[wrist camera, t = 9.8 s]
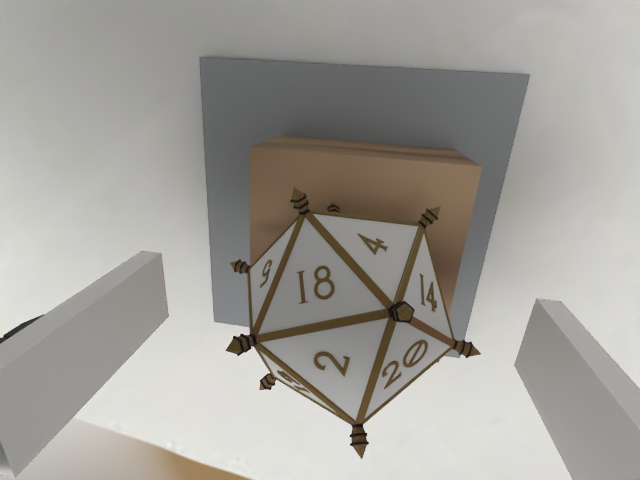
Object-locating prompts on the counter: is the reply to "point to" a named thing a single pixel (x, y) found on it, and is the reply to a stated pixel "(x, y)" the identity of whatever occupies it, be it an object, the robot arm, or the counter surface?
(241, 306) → the build mat
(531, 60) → the counter surface
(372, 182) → the walnut block
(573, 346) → the robot arm
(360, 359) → the game die
